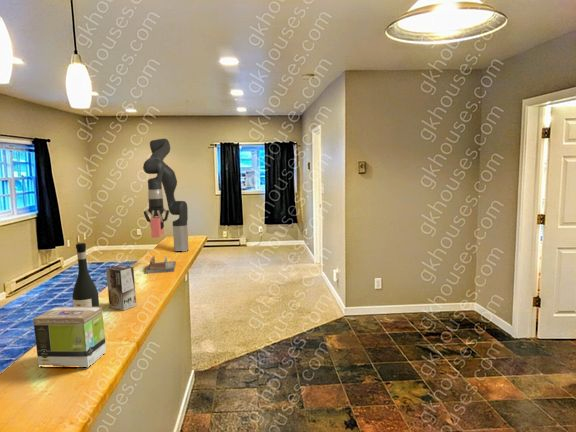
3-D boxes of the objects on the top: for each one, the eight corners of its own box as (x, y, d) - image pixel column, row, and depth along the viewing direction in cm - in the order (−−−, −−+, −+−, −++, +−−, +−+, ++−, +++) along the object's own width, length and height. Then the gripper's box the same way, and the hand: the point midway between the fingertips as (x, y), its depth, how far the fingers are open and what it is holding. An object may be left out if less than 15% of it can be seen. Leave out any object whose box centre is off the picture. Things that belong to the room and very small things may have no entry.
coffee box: (137, 305, 163) (134, 266, 161) (123, 311, 157) (120, 270, 155) (122, 302, 167) (119, 264, 165) (108, 307, 162) (105, 268, 160)
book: (151, 237, 215) (150, 219, 214) (156, 234, 227) (155, 216, 226) (159, 237, 216) (158, 218, 215) (163, 234, 228) (162, 216, 227)
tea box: (107, 353, 122) (103, 305, 120) (87, 369, 112) (83, 318, 110) (60, 352, 123) (55, 305, 121) (37, 368, 113) (31, 317, 111)
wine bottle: (90, 333, 136) (82, 246, 133) (70, 332, 138) (61, 245, 134) (105, 324, 144) (98, 241, 141) (86, 323, 146) (78, 241, 142)
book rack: (150, 265, 230) (149, 256, 229) (175, 263, 233) (175, 254, 232) (146, 273, 212) (145, 263, 212) (173, 271, 215) (173, 261, 215)
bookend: (165, 263, 228) (165, 256, 227) (173, 262, 229) (172, 255, 228) (164, 267, 218) (164, 260, 218) (172, 267, 219) (171, 259, 219)
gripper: (140, 198, 215) (142, 230, 217) (167, 197, 216) (169, 229, 218) (143, 197, 222) (145, 228, 224) (170, 196, 224) (172, 227, 226)
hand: (157, 228), depth 221 cm, fingers closed on book, 4 cm apart
